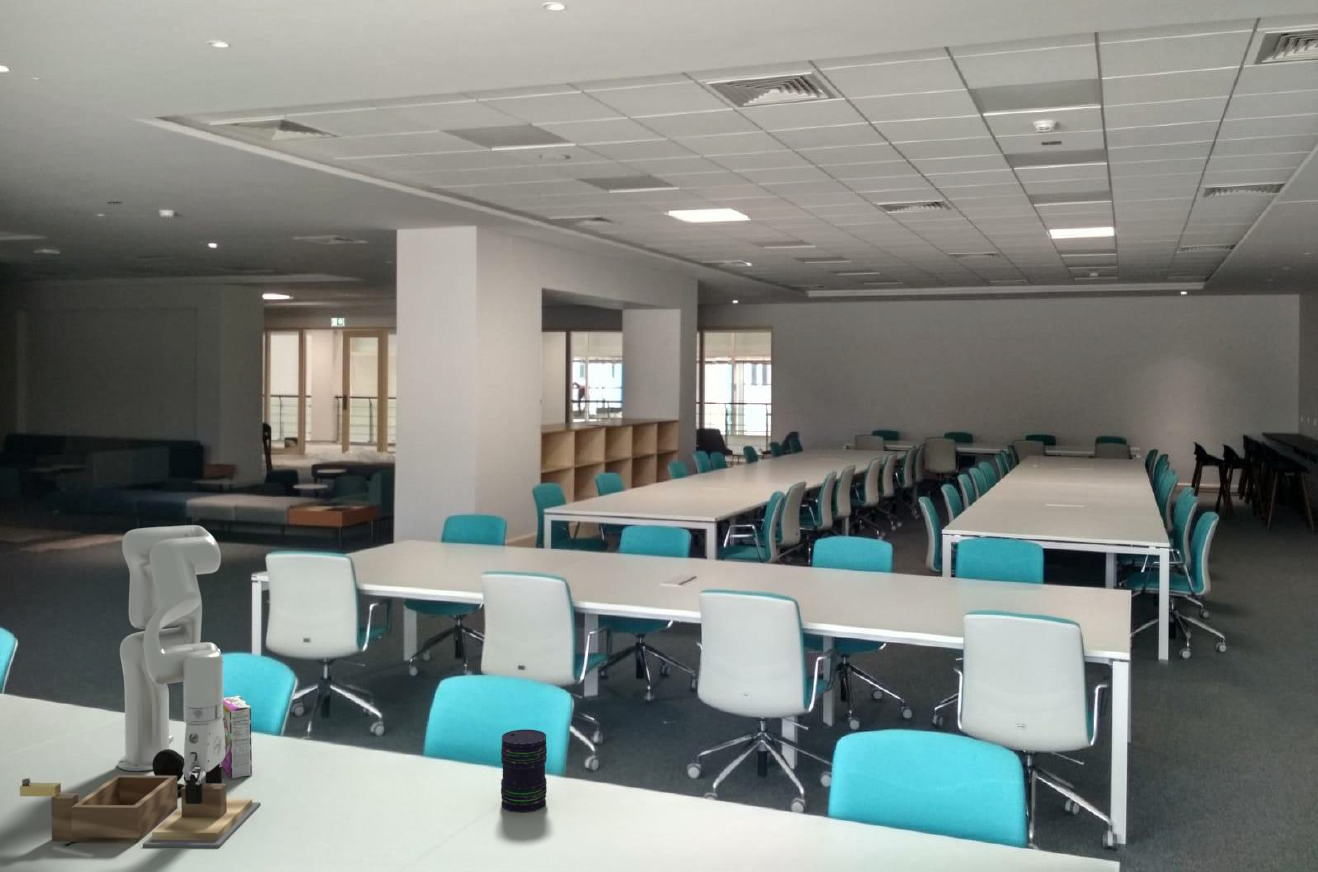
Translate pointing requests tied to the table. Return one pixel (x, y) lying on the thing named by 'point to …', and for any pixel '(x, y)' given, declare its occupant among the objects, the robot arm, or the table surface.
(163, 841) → the mat
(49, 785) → the yellow bar with ball
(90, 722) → the table surface
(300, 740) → the table surface
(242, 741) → the candy bar box
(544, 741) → the storage jar
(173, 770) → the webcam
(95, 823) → the open wooden box
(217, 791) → the lid
